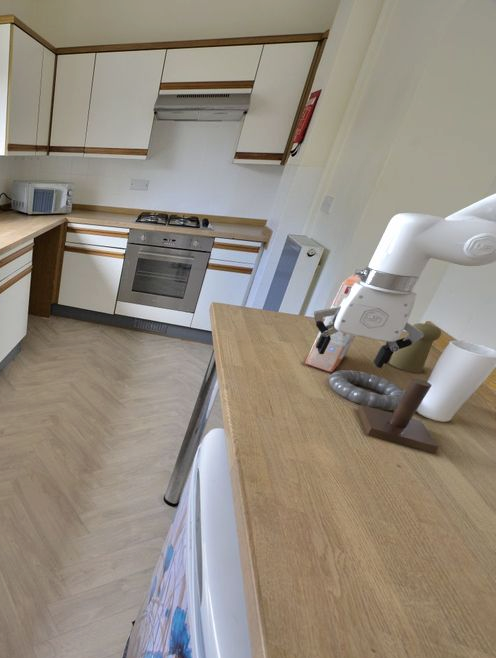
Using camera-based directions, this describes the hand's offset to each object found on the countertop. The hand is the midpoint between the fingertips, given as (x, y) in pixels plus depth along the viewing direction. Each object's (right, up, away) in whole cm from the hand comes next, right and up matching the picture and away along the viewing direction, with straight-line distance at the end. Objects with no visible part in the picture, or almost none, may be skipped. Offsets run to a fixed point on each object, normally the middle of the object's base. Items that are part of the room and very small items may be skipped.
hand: (347, 358), depth 86 cm
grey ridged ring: (+4, -7, 0) cm, 8 cm away
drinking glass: (+12, -11, -5) cm, 17 cm away
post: (-1, -13, -10) cm, 17 cm away
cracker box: (+8, -1, +15) cm, 17 cm away
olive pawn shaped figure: (+27, -3, +14) cm, 31 cm away
